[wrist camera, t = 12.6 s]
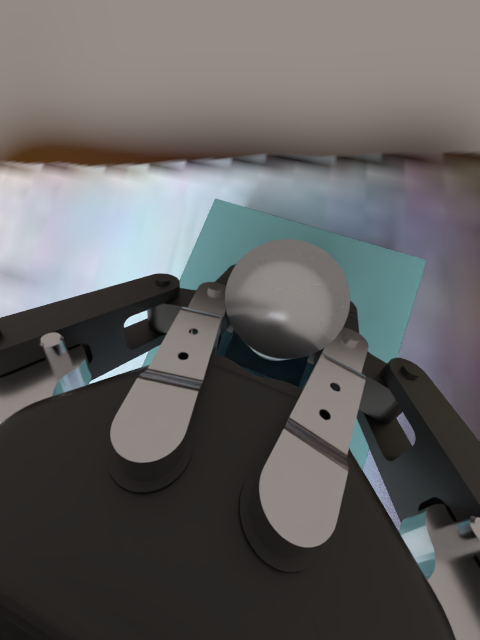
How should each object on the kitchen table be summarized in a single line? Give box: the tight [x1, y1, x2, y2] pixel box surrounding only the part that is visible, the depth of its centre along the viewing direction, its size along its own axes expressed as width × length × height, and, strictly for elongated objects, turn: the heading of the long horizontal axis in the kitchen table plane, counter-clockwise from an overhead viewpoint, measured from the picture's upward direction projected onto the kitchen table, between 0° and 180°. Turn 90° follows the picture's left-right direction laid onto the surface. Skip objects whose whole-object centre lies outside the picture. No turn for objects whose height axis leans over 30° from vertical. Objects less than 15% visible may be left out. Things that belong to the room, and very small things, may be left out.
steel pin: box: [225, 239, 350, 361], centre depth 12 cm, size 4×4×10 cm
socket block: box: [142, 199, 426, 471], centre depth 16 cm, size 13×13×5 cm
